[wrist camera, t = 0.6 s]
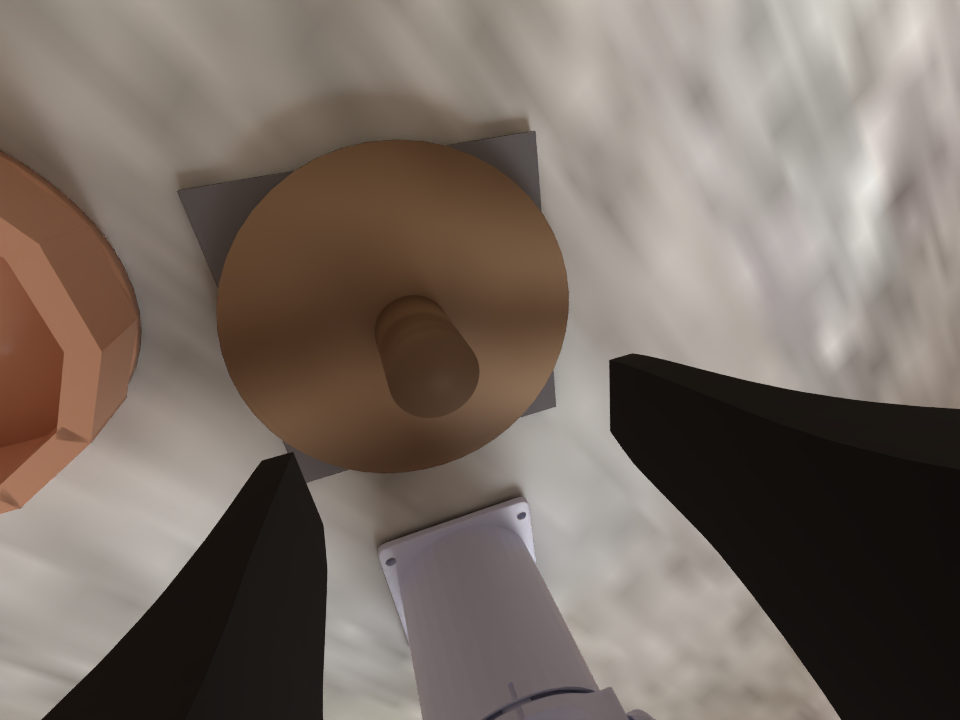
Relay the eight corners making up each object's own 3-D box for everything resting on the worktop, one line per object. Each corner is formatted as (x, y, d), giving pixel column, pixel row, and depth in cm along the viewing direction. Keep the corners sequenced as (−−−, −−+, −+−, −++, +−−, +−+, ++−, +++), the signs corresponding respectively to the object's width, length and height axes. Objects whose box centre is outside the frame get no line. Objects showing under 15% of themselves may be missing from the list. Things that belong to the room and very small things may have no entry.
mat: (552, 402, 22) (556, 406, 22) (301, 478, 20) (300, 484, 20) (530, 131, 17) (535, 131, 17) (180, 189, 14) (177, 190, 14)
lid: (565, 411, 22) (623, 475, 18) (292, 495, 20) (284, 594, 15) (546, 113, 16) (626, 102, 12) (151, 176, 14) (74, 191, 9)
